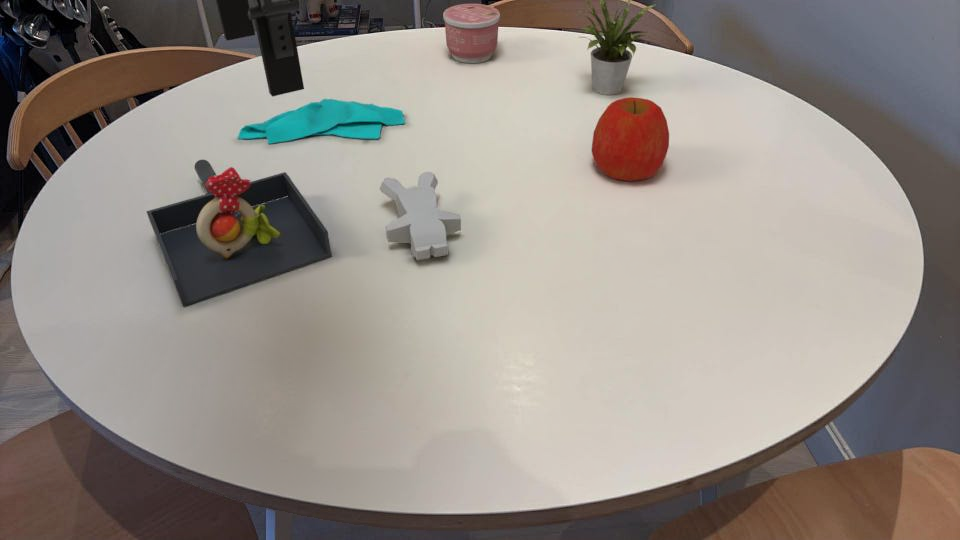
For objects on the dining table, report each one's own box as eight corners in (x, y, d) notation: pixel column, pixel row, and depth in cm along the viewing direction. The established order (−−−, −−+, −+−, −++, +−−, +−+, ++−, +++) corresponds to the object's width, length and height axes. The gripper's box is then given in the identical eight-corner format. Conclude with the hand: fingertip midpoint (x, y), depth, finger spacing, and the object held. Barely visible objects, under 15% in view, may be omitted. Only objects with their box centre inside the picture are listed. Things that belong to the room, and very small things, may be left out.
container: (504, 63, 131) (505, 21, 126) (449, 68, 129) (447, 25, 124) (493, 42, 139) (493, 1, 134) (440, 46, 137) (439, 5, 132)
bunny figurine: (392, 245, 82) (371, 168, 92) (394, 275, 85) (374, 197, 95) (470, 232, 84) (441, 157, 94) (469, 262, 87) (441, 187, 97)
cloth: (406, 100, 119) (405, 88, 118) (404, 140, 109) (403, 127, 107) (252, 104, 118) (249, 92, 117) (235, 145, 108) (231, 132, 106)
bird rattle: (245, 280, 86) (296, 227, 88) (189, 229, 77) (248, 171, 79) (218, 259, 89) (268, 208, 91) (162, 207, 80) (218, 152, 82)
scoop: (332, 256, 87) (327, 230, 84) (183, 307, 80) (173, 280, 77) (266, 160, 104) (260, 136, 102) (139, 195, 97) (130, 170, 95)
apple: (643, 144, 108) (653, 79, 101) (677, 180, 100) (692, 113, 93) (578, 154, 105) (585, 89, 99) (608, 193, 97) (618, 124, 91)
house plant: (545, 94, 121) (552, -1, 110) (577, 65, 130) (585, -26, 120) (624, 113, 116) (638, 14, 105) (651, 81, 125) (666, -12, 114)
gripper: (315, -219, 42) (356, 107, 55) (208, -246, 58) (260, 11, 72) (186, -212, 39) (263, 131, 52) (112, -242, 55) (185, 25, 69)
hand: (261, 62), depth 62 cm, fingers open, 13 cm apart
